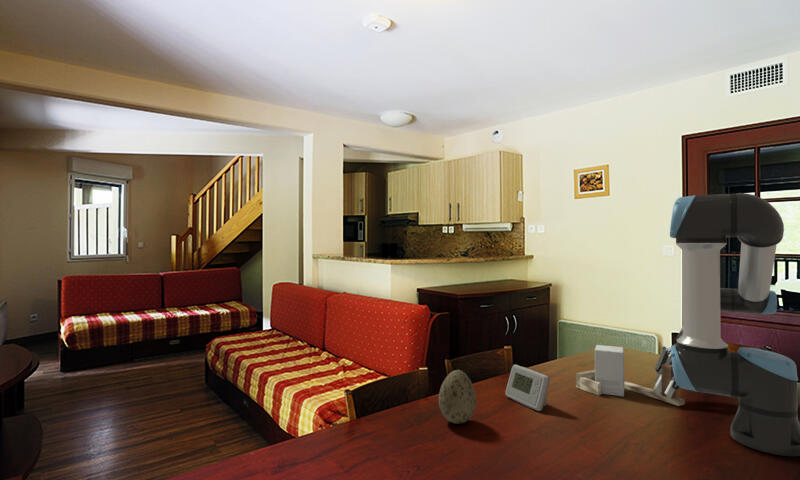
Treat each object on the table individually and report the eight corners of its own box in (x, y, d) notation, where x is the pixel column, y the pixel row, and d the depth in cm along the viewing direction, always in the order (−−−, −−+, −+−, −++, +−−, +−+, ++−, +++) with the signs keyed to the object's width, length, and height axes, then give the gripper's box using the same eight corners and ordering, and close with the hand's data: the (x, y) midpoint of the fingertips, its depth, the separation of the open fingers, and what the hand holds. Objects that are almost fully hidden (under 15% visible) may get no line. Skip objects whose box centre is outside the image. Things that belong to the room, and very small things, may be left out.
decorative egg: (482, 420, 127) (482, 368, 127) (466, 433, 118) (466, 378, 118) (449, 412, 133) (449, 363, 133) (431, 424, 124) (431, 371, 124)
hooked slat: (684, 404, 138) (684, 367, 138) (649, 414, 130) (648, 375, 130) (608, 380, 163) (608, 349, 163) (575, 387, 155) (575, 354, 155)
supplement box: (624, 389, 153) (624, 346, 153) (624, 397, 145) (623, 352, 145) (596, 385, 157) (596, 344, 157) (594, 392, 149) (594, 349, 150)
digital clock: (503, 396, 147) (502, 364, 147) (526, 393, 149) (526, 362, 149) (529, 414, 131) (529, 378, 131) (555, 411, 134) (555, 376, 134)
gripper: (722, 349, 141) (692, 409, 133) (672, 339, 155) (643, 393, 147) (713, 334, 138) (682, 394, 131) (663, 326, 153) (632, 379, 145)
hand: (661, 393), depth 139 cm, fingers closed on hooked slat, 3 cm apart
